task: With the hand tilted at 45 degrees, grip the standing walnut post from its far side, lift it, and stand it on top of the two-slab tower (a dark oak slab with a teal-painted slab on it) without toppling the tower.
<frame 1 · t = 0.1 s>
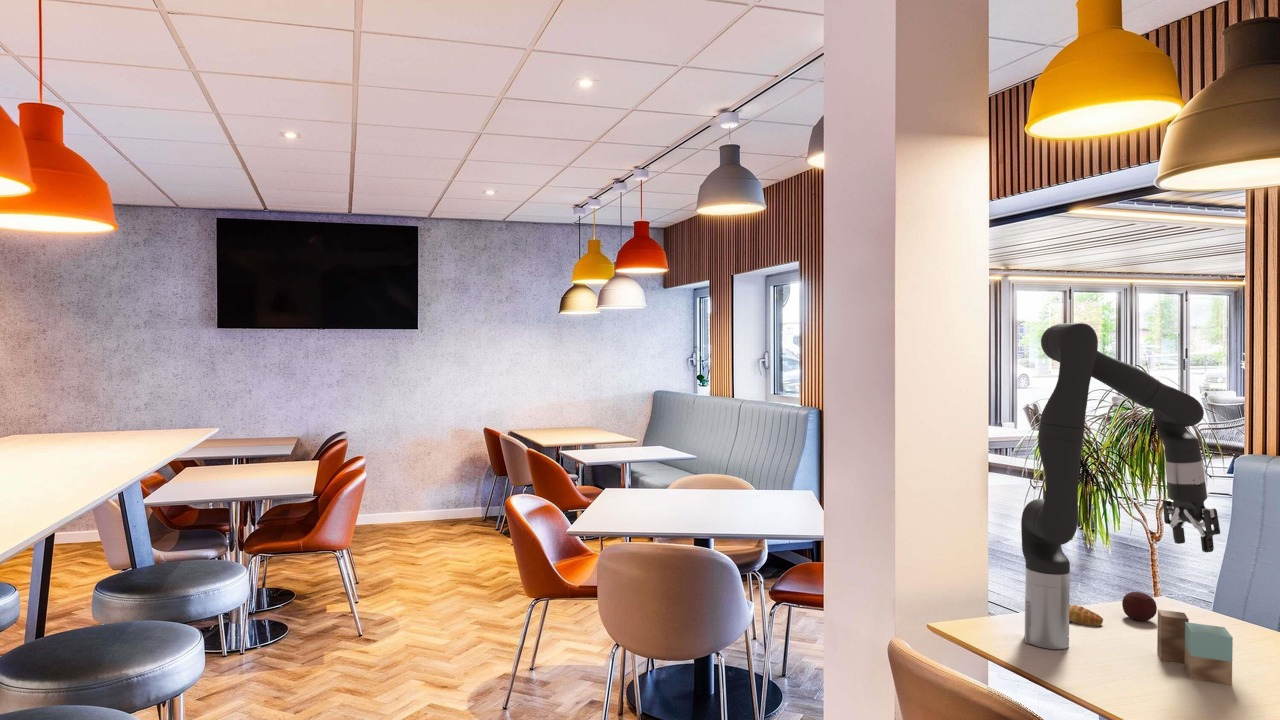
hand: (1193, 547, 186), 22 cm above the table, tool pointing down, fingers open, 8 cm apart
post: (1172, 658, 174), on the table
pastry: (1078, 622, 200), on the table
potato: (1138, 620, 201), on the table
tower top: (1207, 653, 165), point 5 cm above the table, touching tower base
tower base: (1207, 676, 165), on the table, touching tower top
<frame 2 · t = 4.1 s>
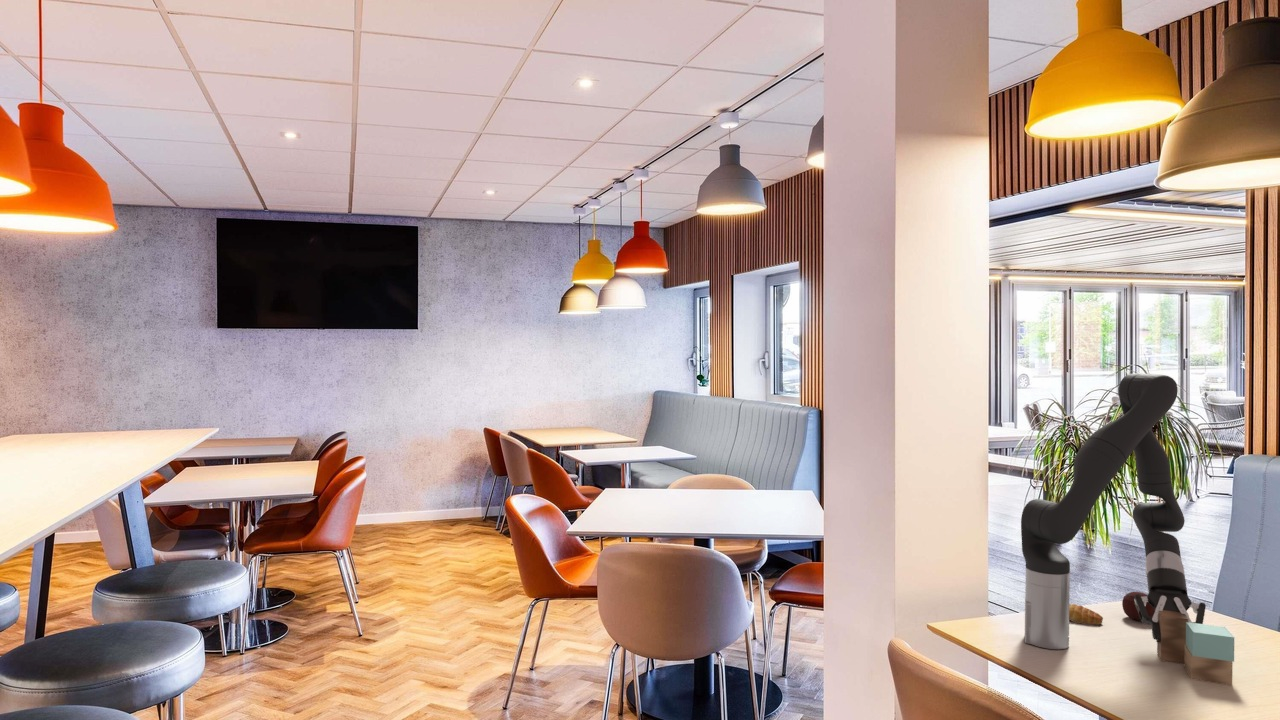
hand: (1174, 642, 173), 4 cm above the table, tool tilted 45°, fingers closed on post, 5 cm apart
post: (1172, 658, 175), on the table, touching gripper
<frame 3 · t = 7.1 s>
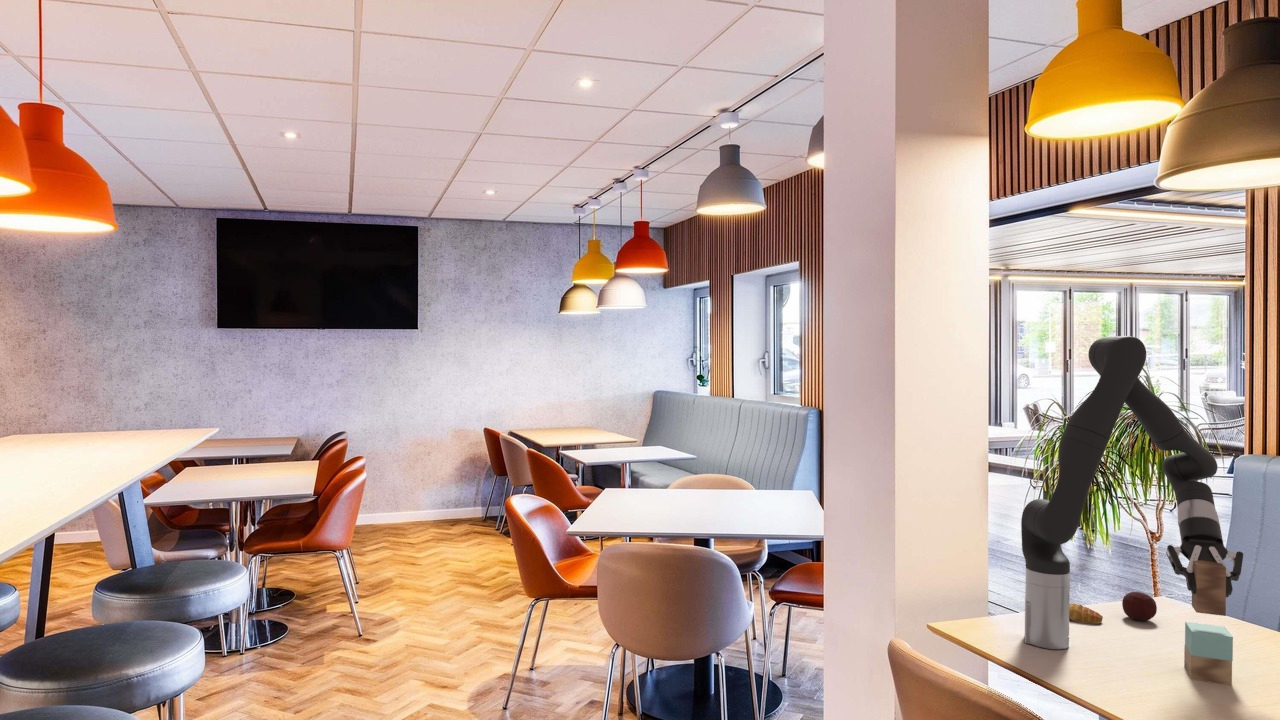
hand: (1210, 593, 163), 18 cm above the table, tool tilted 45°, fingers closed on post, 5 cm apart
post: (1208, 610, 165), point 14 cm above the table, touching gripper
when the fingers open (16 cm above the table, at t = 8.0 s): post drops 2 cm, resting on tower top.
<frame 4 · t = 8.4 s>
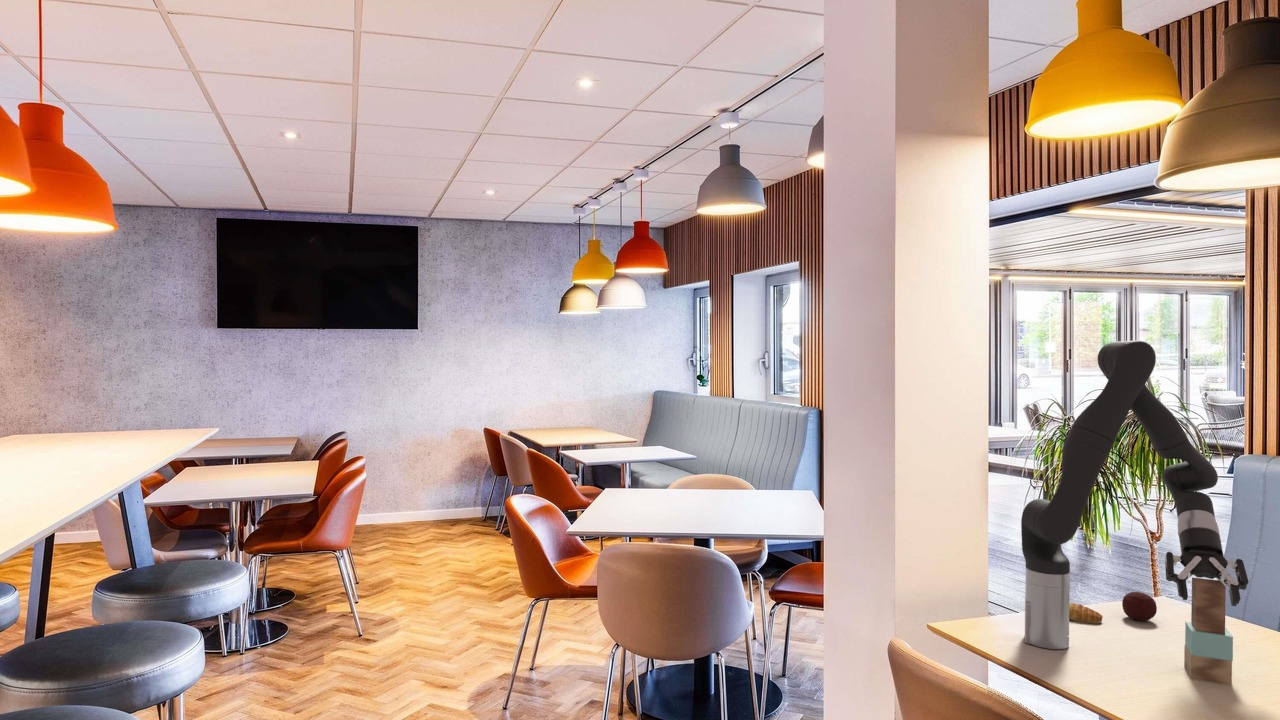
hand: (1209, 601, 164), 16 cm above the table, tool tilted 45°, fingers open, 8 cm apart
post: (1207, 629, 165), point 10 cm above the table, touching tower top
tower top: (1208, 652, 165), point 5 cm above the table, touching post, tower base
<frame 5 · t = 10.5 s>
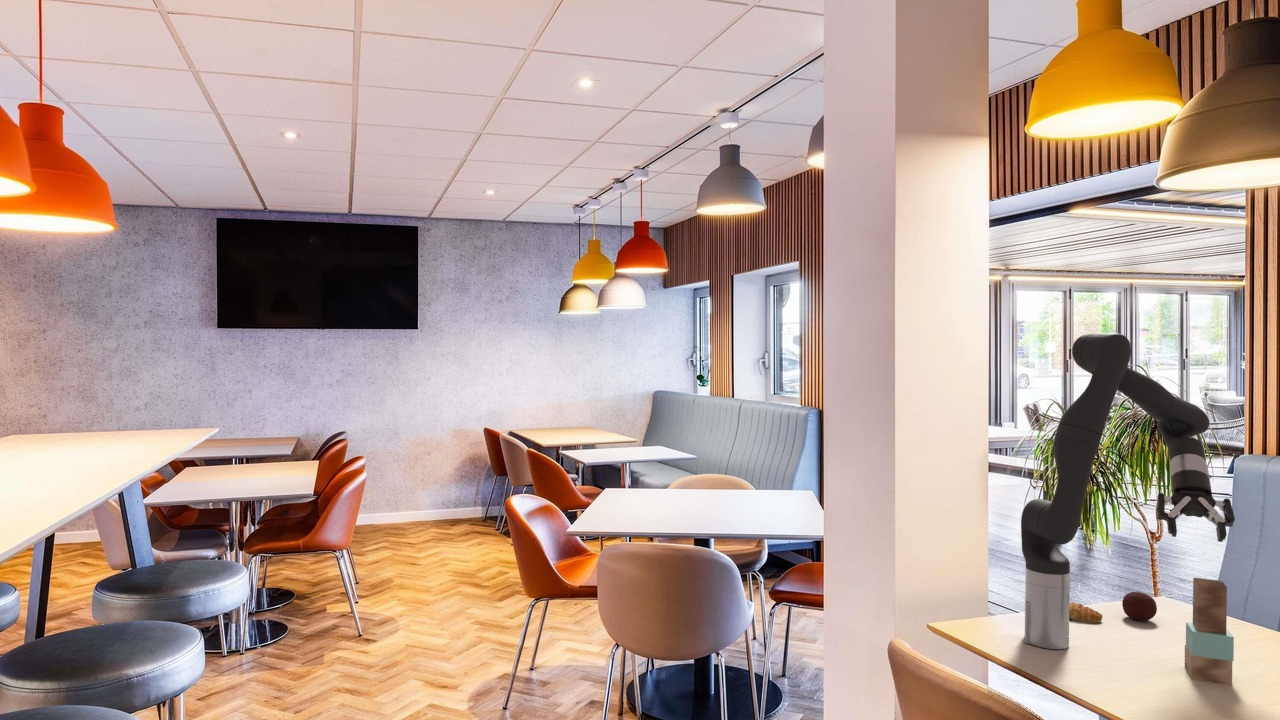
hand: (1197, 537, 174), 27 cm above the table, tool tilted 45°, fingers open, 8 cm apart
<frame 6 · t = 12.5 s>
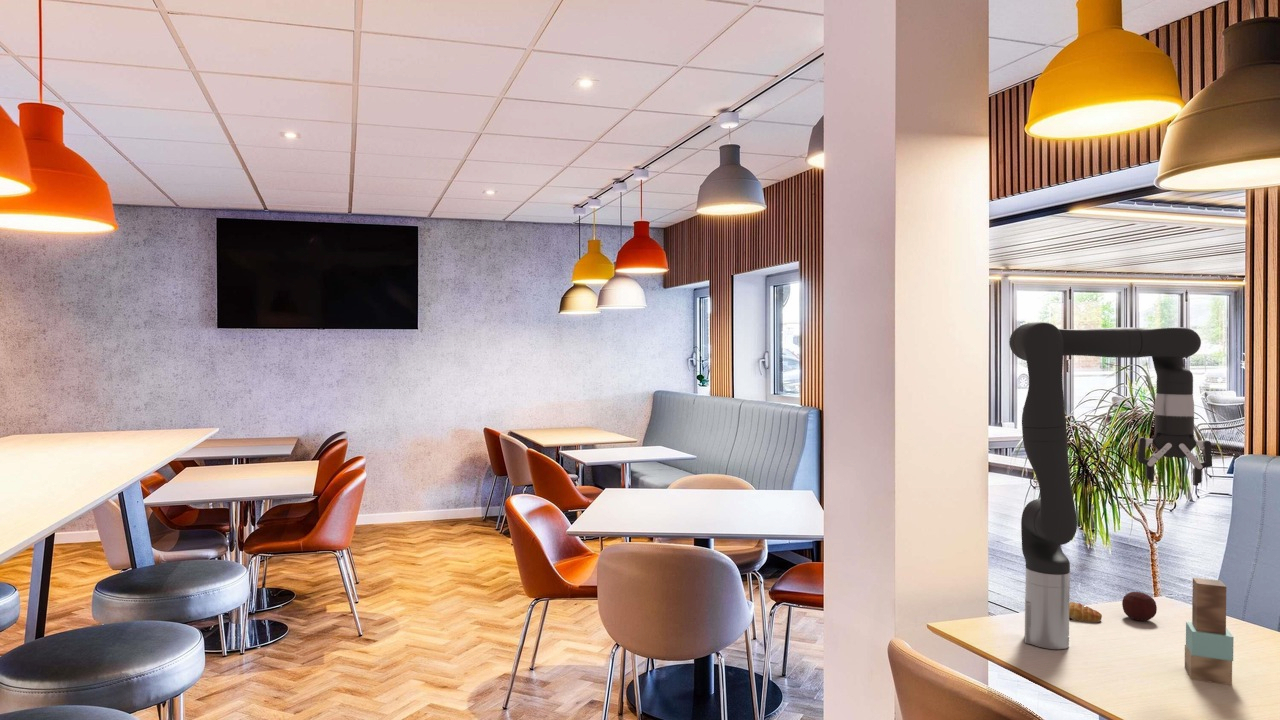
hand: (1173, 483, 181), 38 cm above the table, tool pointing down, fingers open, 8 cm apart
at the end: post 0.2 cm off-centre on the tower top, point 5.0 cm above the tower top's base; post tilted 0°; tower top moved 0.4 cm from its start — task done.
